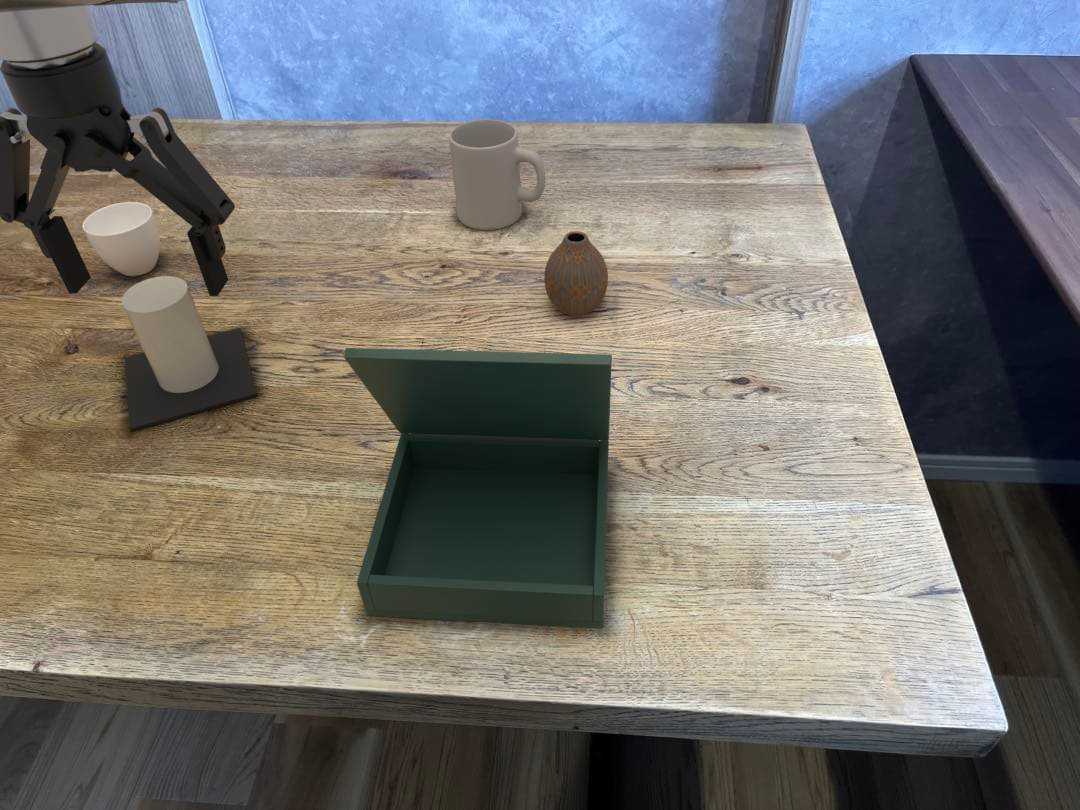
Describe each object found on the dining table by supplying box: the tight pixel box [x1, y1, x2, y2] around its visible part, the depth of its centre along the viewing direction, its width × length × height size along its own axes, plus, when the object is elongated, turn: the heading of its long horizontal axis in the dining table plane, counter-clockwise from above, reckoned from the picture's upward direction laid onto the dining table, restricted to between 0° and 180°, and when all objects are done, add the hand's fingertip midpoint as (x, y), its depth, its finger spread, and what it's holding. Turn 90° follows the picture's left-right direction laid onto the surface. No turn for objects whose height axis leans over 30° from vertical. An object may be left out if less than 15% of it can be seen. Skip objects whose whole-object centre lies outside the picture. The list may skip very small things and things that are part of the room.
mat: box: [124, 327, 258, 432], centre depth 84 cm, size 12×12×1 cm
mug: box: [448, 119, 546, 231], centre depth 103 cm, size 12×8×11 cm
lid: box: [343, 347, 613, 441], centre depth 62 cm, size 16×18×1 cm
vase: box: [543, 230, 609, 317], centre depth 88 cm, size 7×7×9 cm
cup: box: [81, 201, 161, 277], centre depth 99 cm, size 8×10×7 cm
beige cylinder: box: [121, 275, 219, 393], centre depth 81 cm, size 6×6×10 cm
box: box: [356, 433, 610, 629], centre depth 66 cm, size 16×18×4 cm
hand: (149, 287), depth 76 cm, fingers open, 13 cm apart
